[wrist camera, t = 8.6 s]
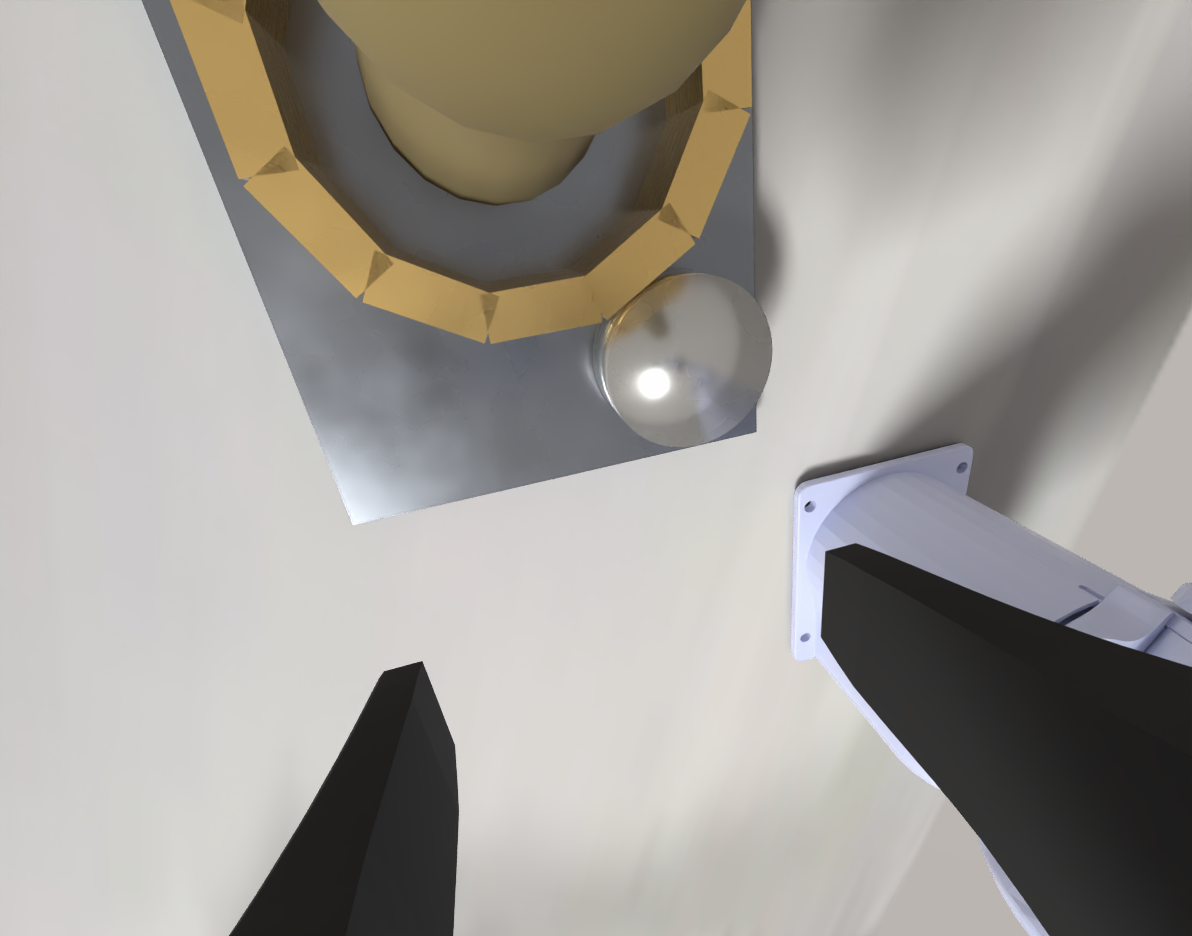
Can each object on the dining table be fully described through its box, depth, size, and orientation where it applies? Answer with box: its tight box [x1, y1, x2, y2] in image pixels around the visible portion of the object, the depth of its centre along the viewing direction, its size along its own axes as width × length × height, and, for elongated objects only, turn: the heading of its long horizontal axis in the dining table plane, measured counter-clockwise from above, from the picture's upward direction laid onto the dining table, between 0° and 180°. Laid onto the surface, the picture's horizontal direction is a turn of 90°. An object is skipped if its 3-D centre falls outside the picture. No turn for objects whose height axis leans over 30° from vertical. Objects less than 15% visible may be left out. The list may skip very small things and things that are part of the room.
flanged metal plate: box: [142, 0, 772, 525], centre depth 14 cm, size 18×14×4 cm
